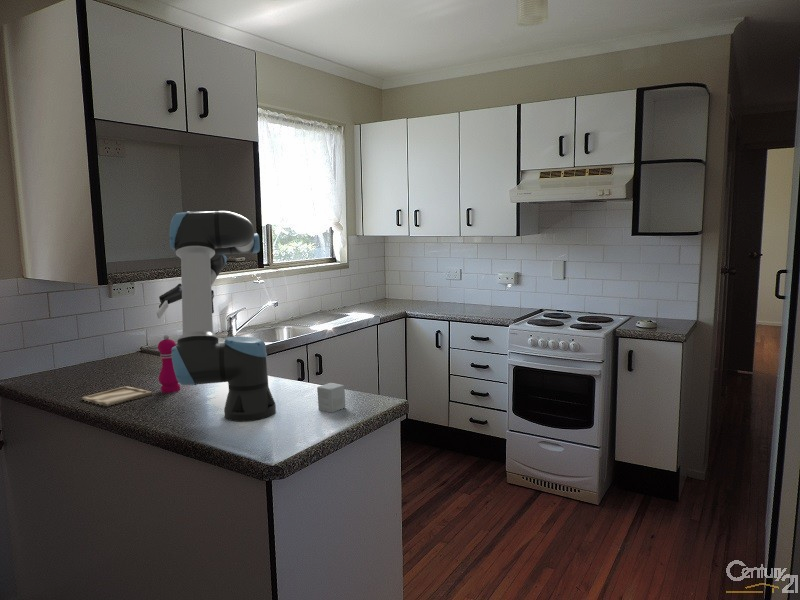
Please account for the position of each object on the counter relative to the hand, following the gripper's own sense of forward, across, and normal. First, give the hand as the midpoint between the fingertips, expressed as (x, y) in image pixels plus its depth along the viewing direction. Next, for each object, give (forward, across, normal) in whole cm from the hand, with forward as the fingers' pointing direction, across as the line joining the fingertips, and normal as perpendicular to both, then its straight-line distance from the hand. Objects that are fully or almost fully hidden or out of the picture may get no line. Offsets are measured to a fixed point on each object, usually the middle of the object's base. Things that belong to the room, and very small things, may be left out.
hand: (176, 319), depth 209 cm
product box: (+27, -64, +5) cm, 69 cm away
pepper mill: (+16, -2, -20) cm, 26 cm away
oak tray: (+25, +12, -18) cm, 33 cm away
